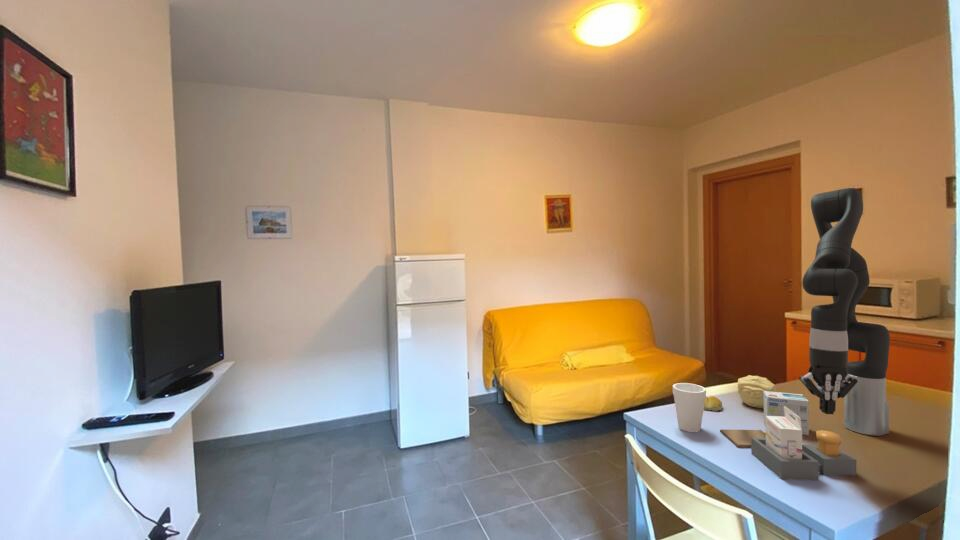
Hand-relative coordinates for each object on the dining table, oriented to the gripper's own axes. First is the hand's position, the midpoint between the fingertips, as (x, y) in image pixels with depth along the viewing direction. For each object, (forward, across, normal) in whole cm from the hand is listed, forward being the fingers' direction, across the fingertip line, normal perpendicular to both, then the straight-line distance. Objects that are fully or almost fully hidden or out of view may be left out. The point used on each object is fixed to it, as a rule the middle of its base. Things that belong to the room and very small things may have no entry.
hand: (827, 413), depth 104 cm
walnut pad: (+14, +11, -15) cm, 23 cm away
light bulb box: (+14, -4, -23) cm, 27 cm away
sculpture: (+14, -7, -43) cm, 46 cm away
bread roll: (+14, +11, -41) cm, 45 cm away
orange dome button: (+11, 0, 0) cm, 11 cm away
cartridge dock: (+14, +5, 0) cm, 15 cm away
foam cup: (+14, +25, -23) cm, 37 cm away
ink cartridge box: (+14, +11, 0) cm, 18 cm away
